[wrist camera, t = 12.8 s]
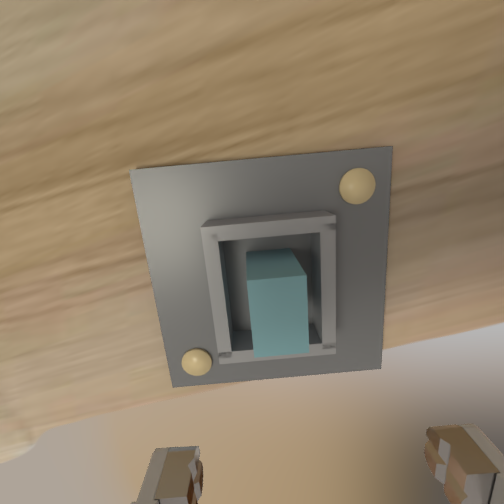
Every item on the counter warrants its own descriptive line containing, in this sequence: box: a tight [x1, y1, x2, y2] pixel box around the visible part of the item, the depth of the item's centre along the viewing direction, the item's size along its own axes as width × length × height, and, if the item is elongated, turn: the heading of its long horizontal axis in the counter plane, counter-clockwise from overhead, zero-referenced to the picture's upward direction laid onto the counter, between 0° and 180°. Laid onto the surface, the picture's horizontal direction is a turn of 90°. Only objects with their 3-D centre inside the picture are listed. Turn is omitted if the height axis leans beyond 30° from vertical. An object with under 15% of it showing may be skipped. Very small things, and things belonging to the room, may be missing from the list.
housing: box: [129, 146, 393, 387], centre depth 25 cm, size 22×22×4 cm
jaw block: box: [246, 248, 309, 358], centre depth 22 cm, size 4×6×7 cm, turn 5°
